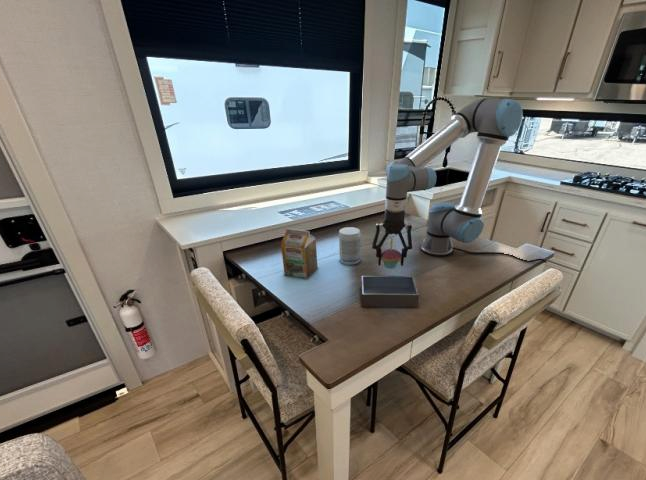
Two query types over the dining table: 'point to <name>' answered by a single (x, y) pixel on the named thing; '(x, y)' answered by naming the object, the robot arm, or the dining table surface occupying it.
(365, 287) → the open rectangular bin
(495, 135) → the robot arm
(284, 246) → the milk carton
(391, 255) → the cupcake
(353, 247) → the supplement tub
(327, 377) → the dining table surface
